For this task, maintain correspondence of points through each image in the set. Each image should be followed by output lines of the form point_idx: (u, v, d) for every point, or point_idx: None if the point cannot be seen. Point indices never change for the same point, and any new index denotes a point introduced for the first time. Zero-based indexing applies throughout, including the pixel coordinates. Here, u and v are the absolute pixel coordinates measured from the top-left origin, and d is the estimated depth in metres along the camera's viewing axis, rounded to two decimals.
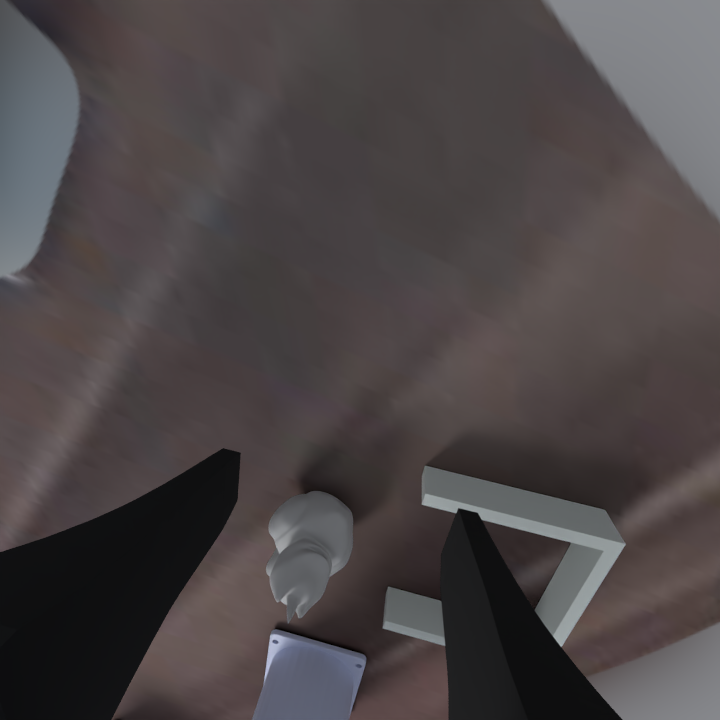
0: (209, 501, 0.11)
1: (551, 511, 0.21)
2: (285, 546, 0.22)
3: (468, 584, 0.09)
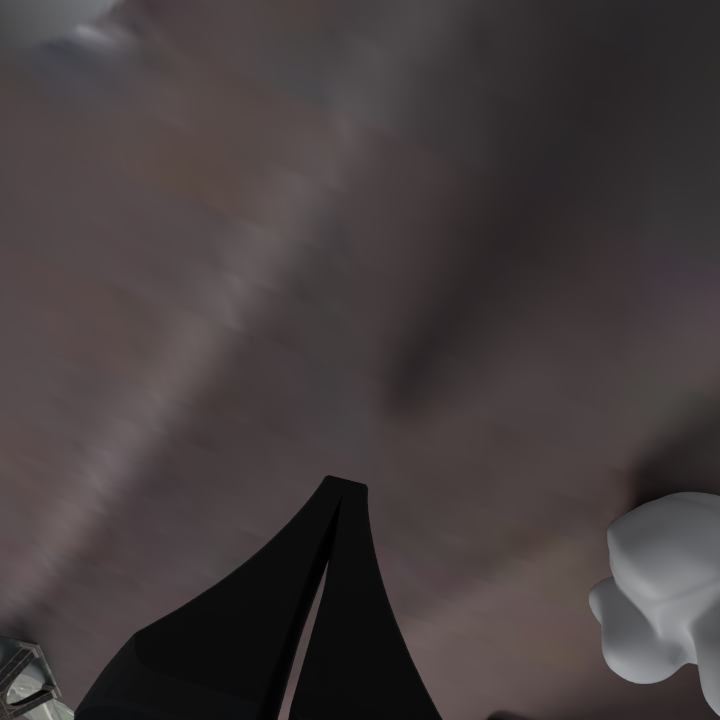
0: (329, 533, 0.10)
1: None
2: (690, 614, 0.10)
3: (332, 548, 0.10)
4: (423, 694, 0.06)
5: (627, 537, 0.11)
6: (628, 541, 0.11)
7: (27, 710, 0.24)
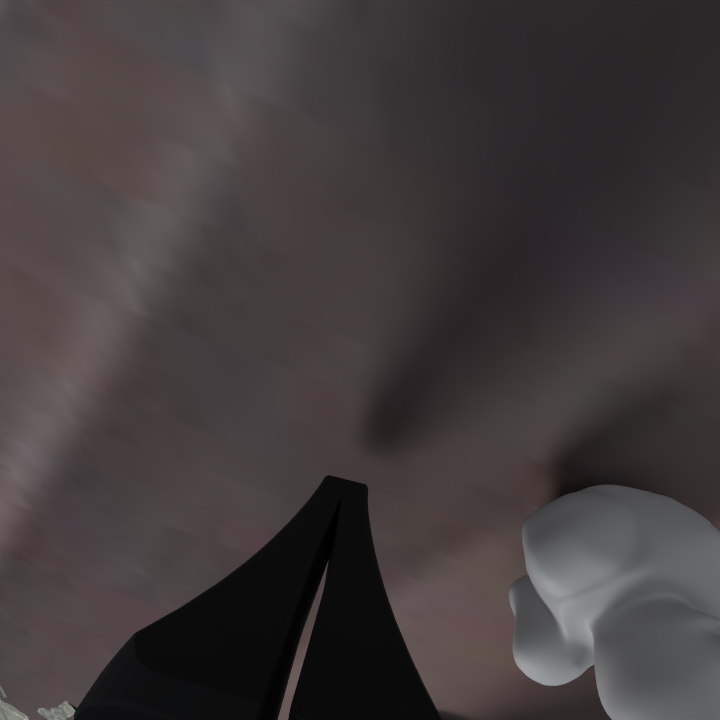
0: (329, 533, 0.10)
1: None
2: (592, 612, 0.10)
3: (333, 548, 0.10)
4: (423, 694, 0.06)
5: (536, 532, 0.11)
6: (536, 536, 0.11)
7: None
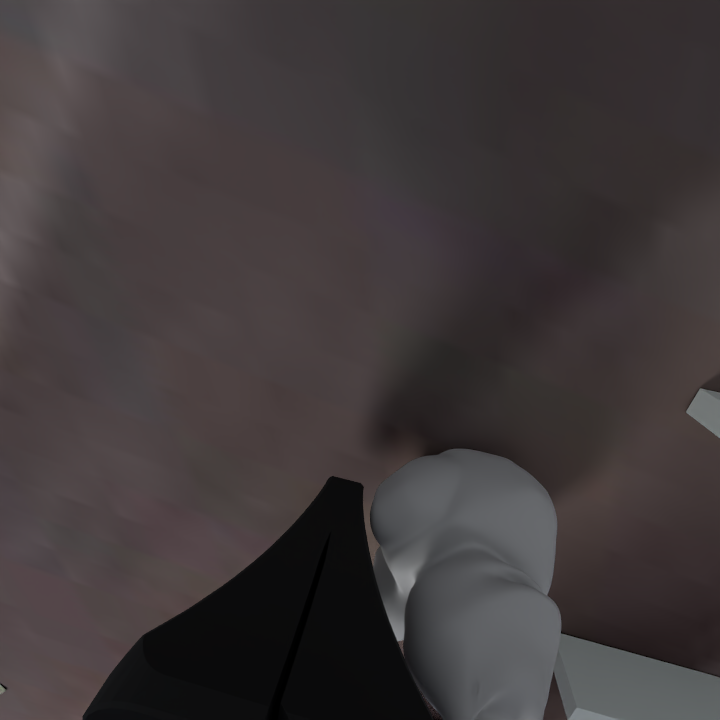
0: None
1: None
2: (415, 566, 0.10)
3: None
4: (414, 691, 0.06)
5: (380, 492, 0.11)
6: (378, 496, 0.11)
7: None
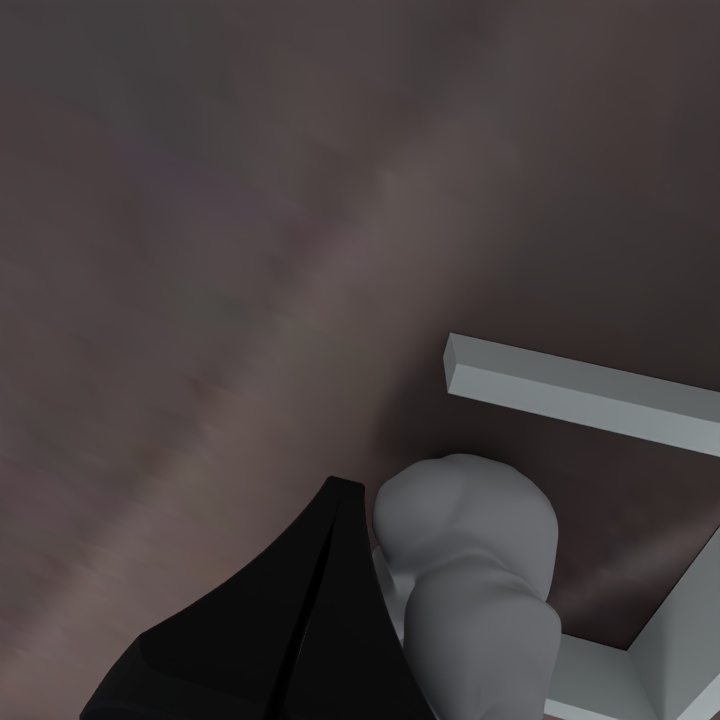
0: None
1: None
2: (416, 569, 0.10)
3: (329, 547, 0.10)
4: (417, 692, 0.06)
5: (383, 493, 0.11)
6: (381, 497, 0.11)
7: None
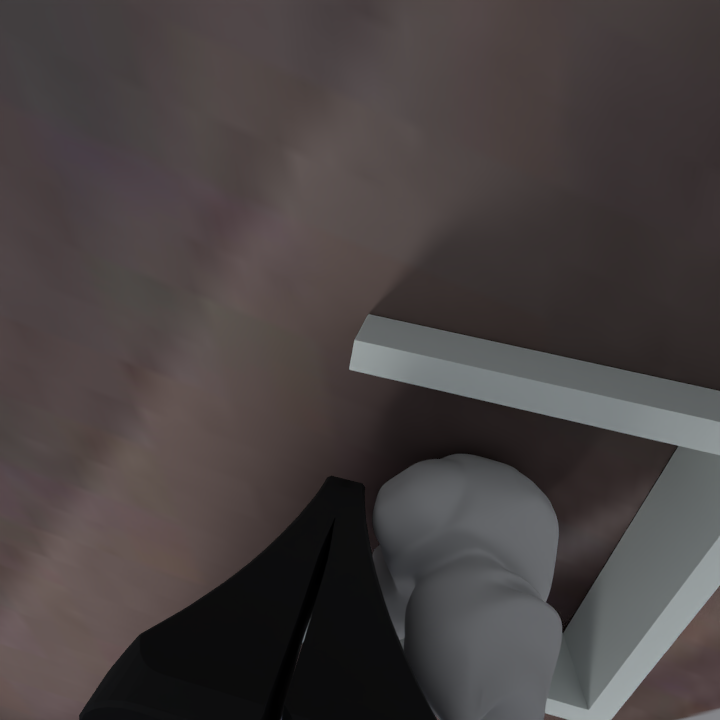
0: (332, 534, 0.10)
1: (637, 387, 0.10)
2: (416, 569, 0.10)
3: (329, 547, 0.10)
4: (417, 692, 0.06)
5: (383, 494, 0.11)
6: (381, 497, 0.11)
7: None
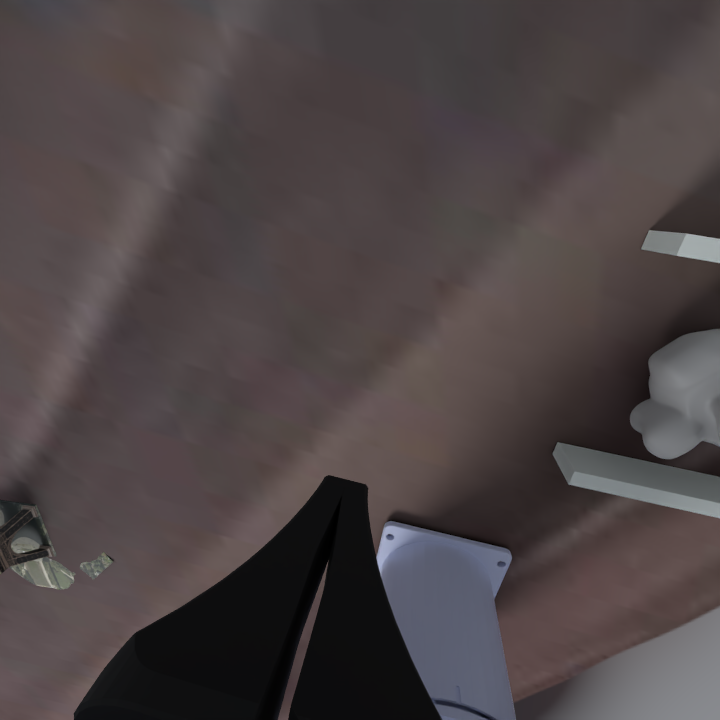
0: (329, 533, 0.10)
1: None
2: (711, 393, 0.15)
3: (333, 548, 0.10)
4: (423, 694, 0.06)
5: (666, 354, 0.16)
6: (667, 355, 0.16)
7: (28, 560, 0.30)
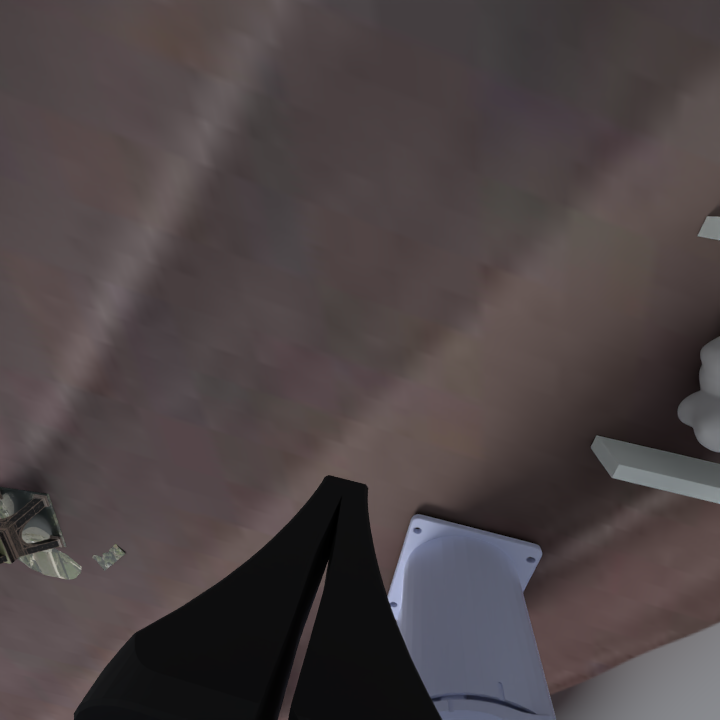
0: (329, 533, 0.10)
1: None
2: None
3: (332, 548, 0.10)
4: (423, 694, 0.06)
5: None
6: None
7: (38, 550, 0.29)
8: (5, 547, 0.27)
